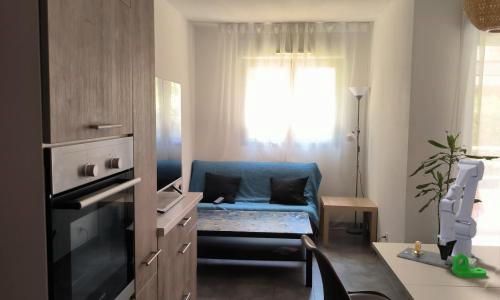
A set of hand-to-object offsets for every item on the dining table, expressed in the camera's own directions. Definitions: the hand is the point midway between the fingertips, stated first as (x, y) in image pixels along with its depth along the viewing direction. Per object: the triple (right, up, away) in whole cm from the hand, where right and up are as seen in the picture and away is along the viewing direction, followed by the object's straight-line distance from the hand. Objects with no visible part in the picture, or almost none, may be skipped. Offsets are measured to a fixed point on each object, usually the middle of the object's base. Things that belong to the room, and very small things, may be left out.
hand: (446, 257), depth 189 cm
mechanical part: (+4, -4, -13) cm, 14 cm away
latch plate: (-6, -2, +6) cm, 9 cm away
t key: (-9, 0, +9) cm, 13 cm away
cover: (+6, -3, -4) cm, 8 cm away
